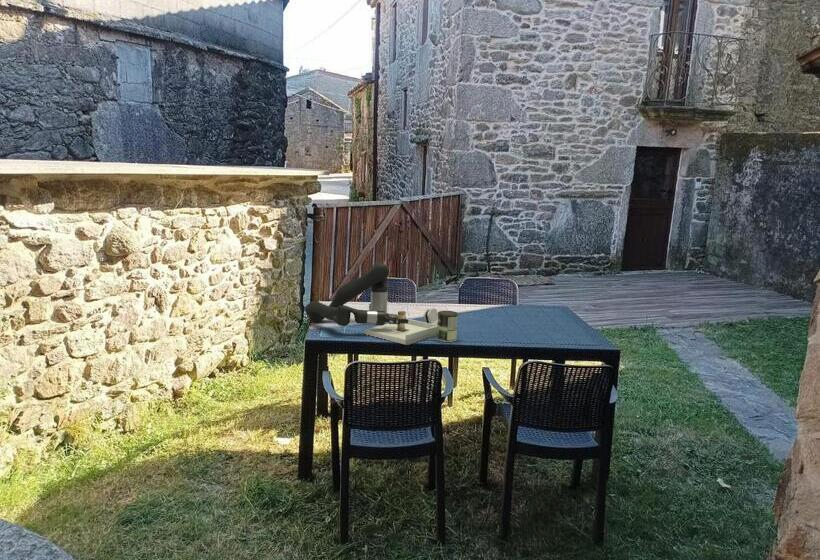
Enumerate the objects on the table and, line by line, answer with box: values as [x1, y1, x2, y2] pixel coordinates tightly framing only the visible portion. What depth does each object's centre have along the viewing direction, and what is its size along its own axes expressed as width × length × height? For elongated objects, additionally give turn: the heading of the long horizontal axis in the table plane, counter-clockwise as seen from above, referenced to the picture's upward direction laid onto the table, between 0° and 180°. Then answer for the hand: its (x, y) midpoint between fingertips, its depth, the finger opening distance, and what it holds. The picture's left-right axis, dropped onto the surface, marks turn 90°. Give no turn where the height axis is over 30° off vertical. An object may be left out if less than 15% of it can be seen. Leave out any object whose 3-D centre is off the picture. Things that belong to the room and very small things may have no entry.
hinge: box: [422, 308, 439, 325], centre depth 355 cm, size 17×5×10 cm, turn 161°
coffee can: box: [436, 310, 459, 343], centre depth 324 cm, size 10×10×14 cm
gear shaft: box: [397, 310, 406, 332], centre depth 331 cm, size 4×4×12 cm
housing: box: [363, 317, 438, 346], centre depth 331 cm, size 28×28×5 cm
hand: (406, 319), depth 330 cm, fingers open, 6 cm apart
